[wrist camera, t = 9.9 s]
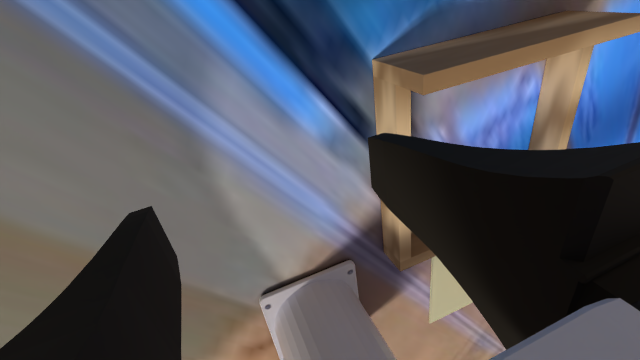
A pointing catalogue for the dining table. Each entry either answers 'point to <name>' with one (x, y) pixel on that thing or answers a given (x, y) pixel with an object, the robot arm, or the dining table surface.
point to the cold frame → (484, 60)
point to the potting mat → (444, 292)
